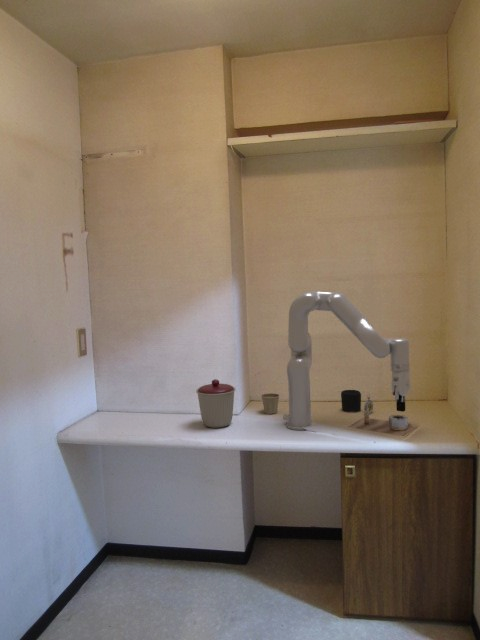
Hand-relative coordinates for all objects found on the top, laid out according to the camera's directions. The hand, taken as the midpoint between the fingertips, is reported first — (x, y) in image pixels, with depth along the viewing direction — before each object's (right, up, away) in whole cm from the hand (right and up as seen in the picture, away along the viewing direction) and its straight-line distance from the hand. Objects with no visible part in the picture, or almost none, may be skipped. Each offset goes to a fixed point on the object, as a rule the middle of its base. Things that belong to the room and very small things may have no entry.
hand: (401, 410), depth 206 cm
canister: (-78, -10, +19) cm, 81 cm away
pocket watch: (-6, -7, +21) cm, 23 cm away
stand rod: (-13, -7, +7) cm, 16 cm away
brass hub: (-2, -7, -2) cm, 7 cm away
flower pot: (-53, -8, +36) cm, 64 cm away
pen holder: (-14, -7, +30) cm, 34 cm away
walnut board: (-7, -8, +3) cm, 11 cm away
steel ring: (-2, -6, -1) cm, 7 cm away
